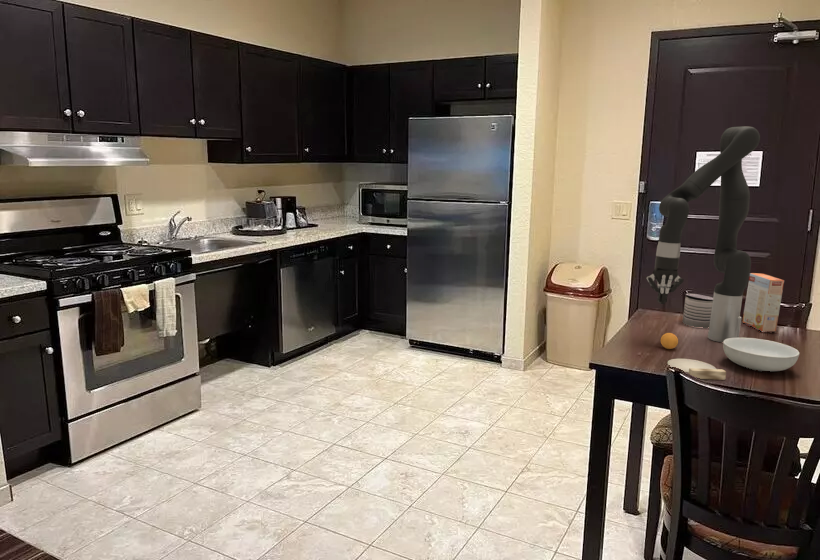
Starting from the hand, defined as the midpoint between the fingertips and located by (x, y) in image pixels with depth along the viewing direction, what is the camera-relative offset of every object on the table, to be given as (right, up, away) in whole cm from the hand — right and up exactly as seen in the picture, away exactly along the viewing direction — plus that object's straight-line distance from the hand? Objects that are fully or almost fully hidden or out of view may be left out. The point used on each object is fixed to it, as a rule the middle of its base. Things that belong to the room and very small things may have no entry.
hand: (661, 303), depth 212 cm
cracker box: (+48, -11, +24) cm, 55 cm away
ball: (0, -13, -7) cm, 14 cm away
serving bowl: (+21, -19, -22) cm, 36 cm away
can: (+25, -10, +26) cm, 38 cm away
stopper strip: (-1, -21, -34) cm, 40 cm away
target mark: (-1, -19, -24) cm, 31 cm away
